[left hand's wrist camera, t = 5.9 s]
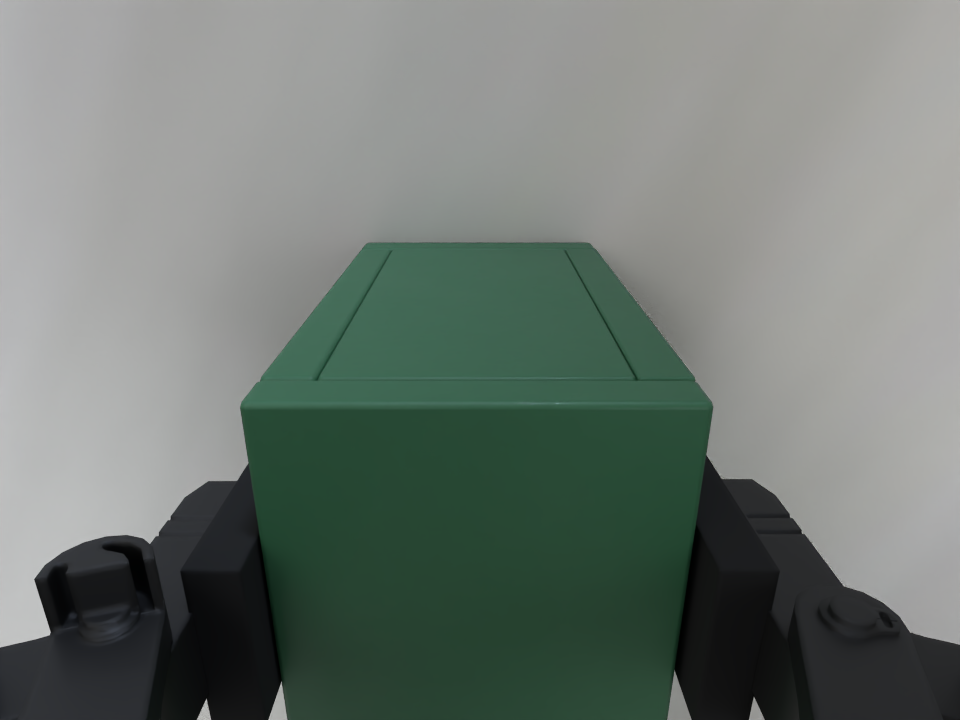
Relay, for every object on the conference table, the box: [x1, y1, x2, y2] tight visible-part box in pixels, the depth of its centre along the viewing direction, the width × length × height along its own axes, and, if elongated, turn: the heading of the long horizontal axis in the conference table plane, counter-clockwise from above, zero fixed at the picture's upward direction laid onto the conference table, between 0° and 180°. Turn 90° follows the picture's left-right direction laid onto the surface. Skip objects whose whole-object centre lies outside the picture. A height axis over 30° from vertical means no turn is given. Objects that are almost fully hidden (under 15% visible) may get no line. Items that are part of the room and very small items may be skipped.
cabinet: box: [240, 243, 713, 720], centre depth 16 cm, size 19×6×10 cm, turn 0°
